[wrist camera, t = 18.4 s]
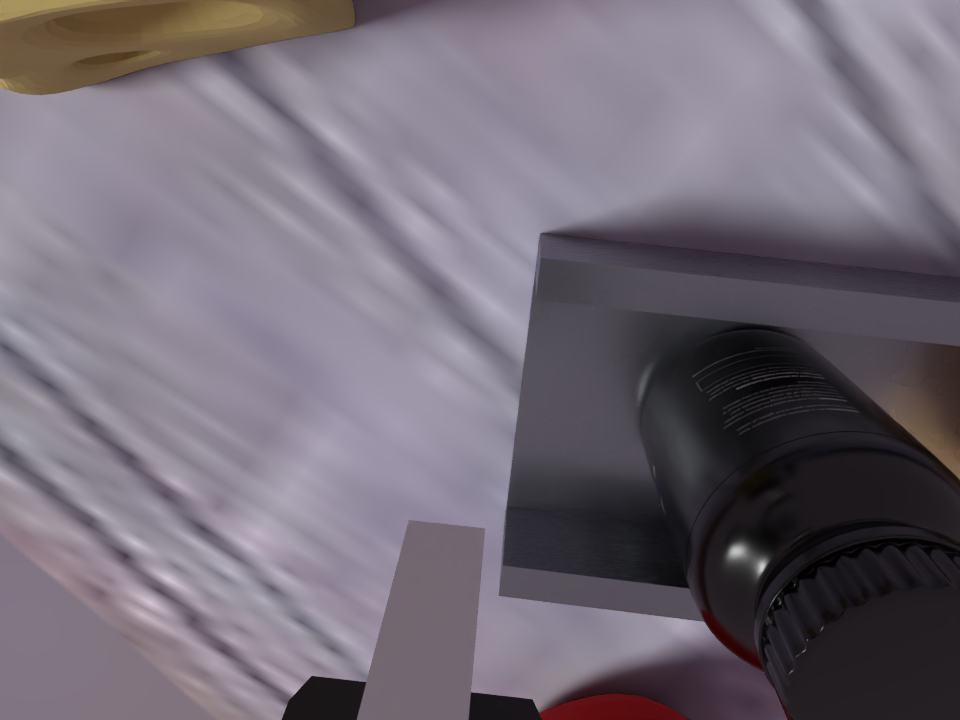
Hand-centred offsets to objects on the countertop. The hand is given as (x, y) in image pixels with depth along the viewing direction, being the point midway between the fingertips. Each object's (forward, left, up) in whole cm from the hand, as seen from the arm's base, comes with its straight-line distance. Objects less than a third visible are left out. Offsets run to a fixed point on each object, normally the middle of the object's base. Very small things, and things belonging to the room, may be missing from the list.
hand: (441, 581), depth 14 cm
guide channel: (+9, -1, -12) cm, 15 cm away
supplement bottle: (+9, 0, -12) cm, 15 cm away
